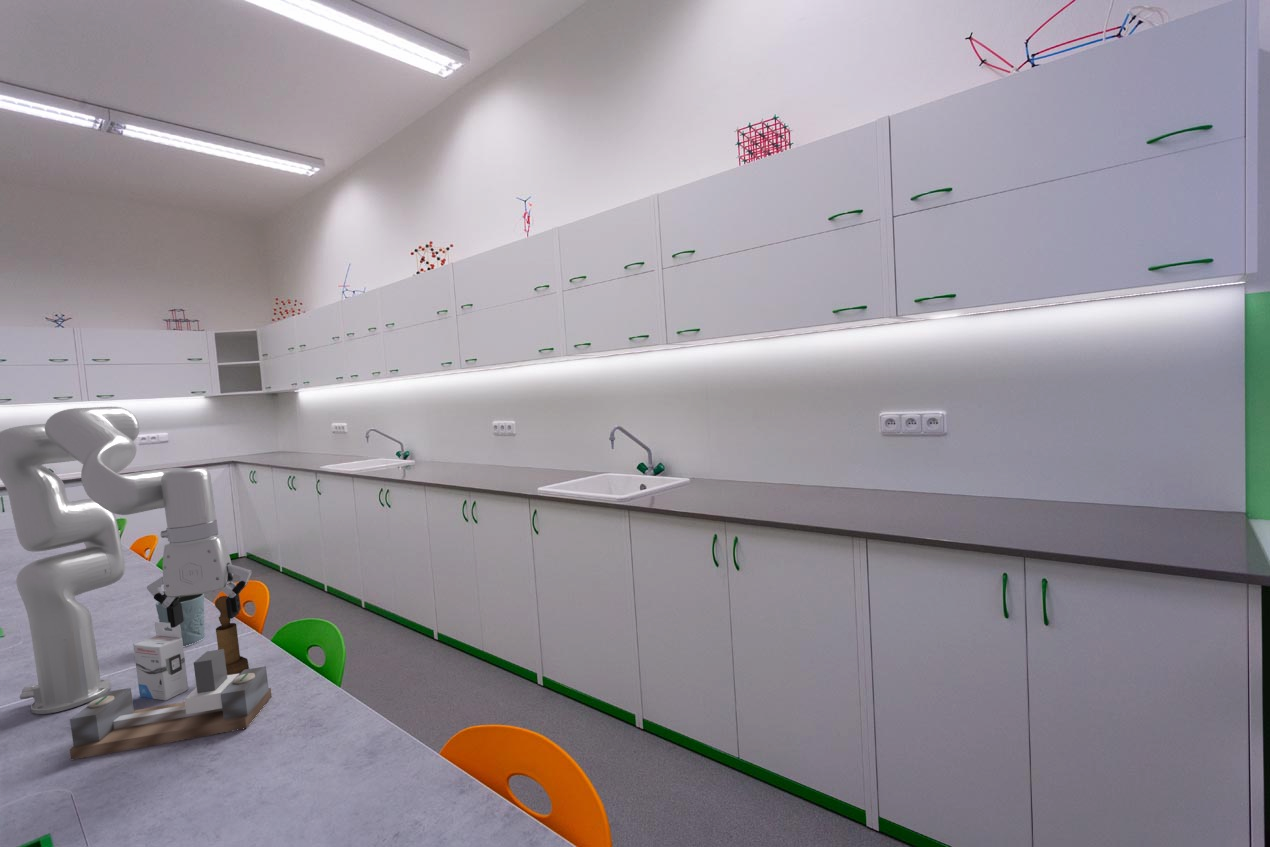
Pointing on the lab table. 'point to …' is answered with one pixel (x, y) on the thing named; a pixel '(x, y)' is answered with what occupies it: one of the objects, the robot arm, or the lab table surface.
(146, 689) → the ink box
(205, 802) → the lab table surface
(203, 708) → the carriage
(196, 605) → the blue-grey plant pot
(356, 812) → the lab table surface
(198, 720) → the rail stand
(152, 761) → the lab table surface
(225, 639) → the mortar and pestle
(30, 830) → the lab table surface
